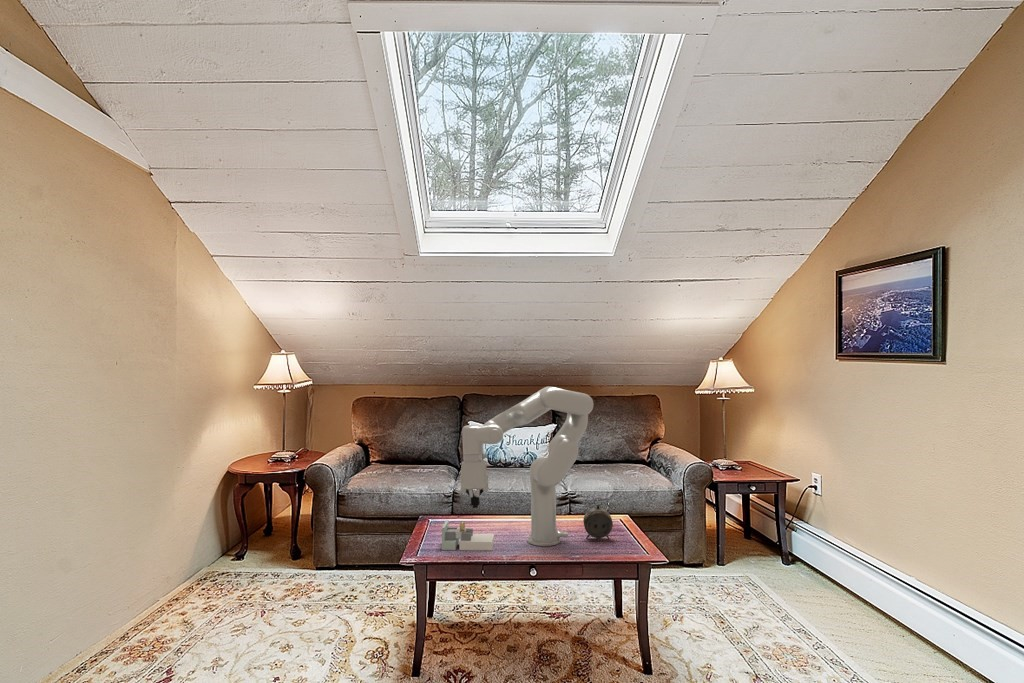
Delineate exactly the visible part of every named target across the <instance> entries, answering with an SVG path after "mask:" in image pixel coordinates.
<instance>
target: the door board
mask: <svg viewBox="0 0 1024 683" xmlns="http://www.w3.org/2000/svg"><path fill="white" fill-rule="evenodd" d="M465 529H467V533H461V539H459V543H458V545H459V551H493V548H494V544H495V534H494V533H474V532H473V531H474V528H466V527H465Z"/></svg>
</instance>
